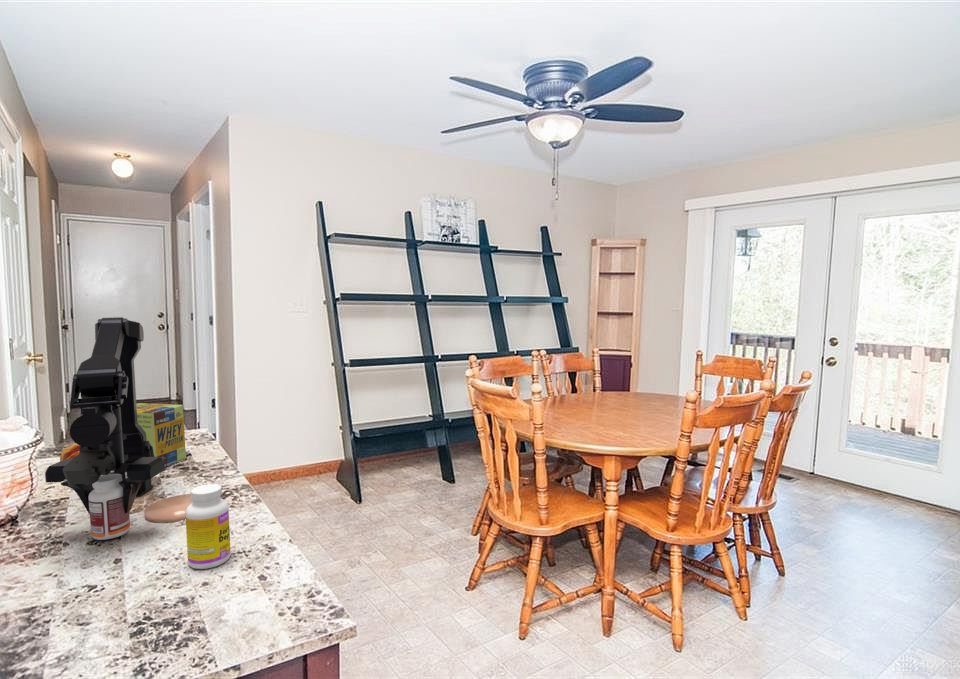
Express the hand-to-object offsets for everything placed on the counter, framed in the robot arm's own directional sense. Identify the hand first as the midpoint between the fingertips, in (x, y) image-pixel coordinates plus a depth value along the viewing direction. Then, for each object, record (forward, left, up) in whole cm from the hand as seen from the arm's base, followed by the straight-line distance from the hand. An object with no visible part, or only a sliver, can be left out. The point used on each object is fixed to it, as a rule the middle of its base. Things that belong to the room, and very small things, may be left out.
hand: (109, 512), depth 103 cm
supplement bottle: (+23, -11, -5) cm, 26 cm away
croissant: (-34, +45, -5) cm, 57 cm away
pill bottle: (0, 0, -4) cm, 4 cm away
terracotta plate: (+7, +12, -5) cm, 15 cm away
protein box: (-17, +45, -5) cm, 48 cm away
